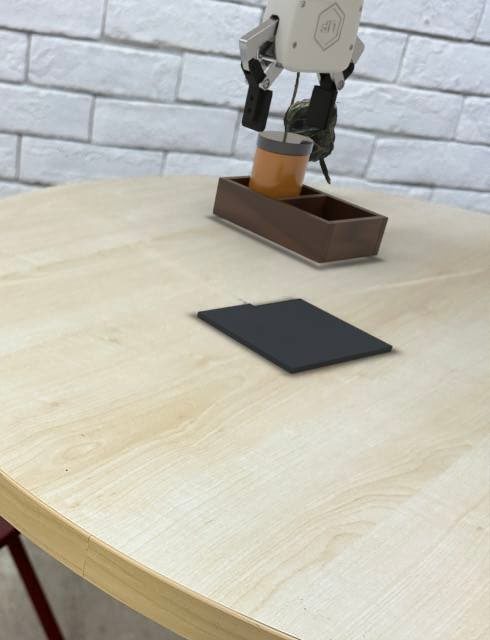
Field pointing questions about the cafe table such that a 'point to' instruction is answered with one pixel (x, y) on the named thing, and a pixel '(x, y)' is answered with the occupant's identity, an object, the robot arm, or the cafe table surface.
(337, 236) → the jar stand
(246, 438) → the cafe table surface
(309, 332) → the coaster
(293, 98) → the plant with pod
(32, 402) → the cafe table surface
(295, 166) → the jar
